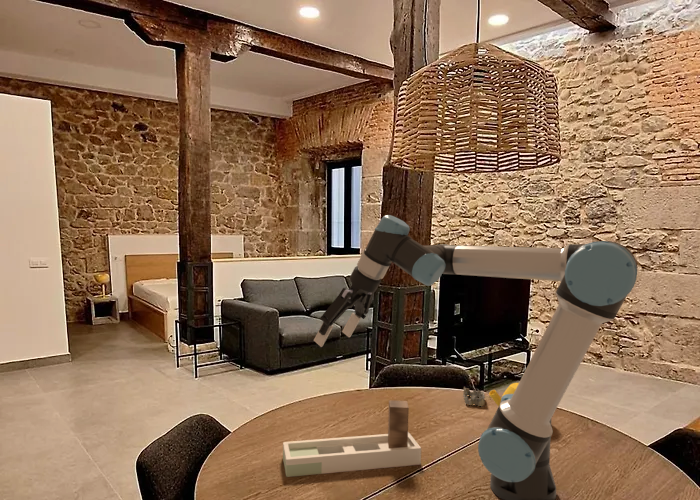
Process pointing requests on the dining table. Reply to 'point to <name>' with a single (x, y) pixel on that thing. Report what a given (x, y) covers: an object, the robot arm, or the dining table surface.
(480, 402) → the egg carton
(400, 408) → the walnut block
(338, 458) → the tray
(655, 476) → the dining table surface
